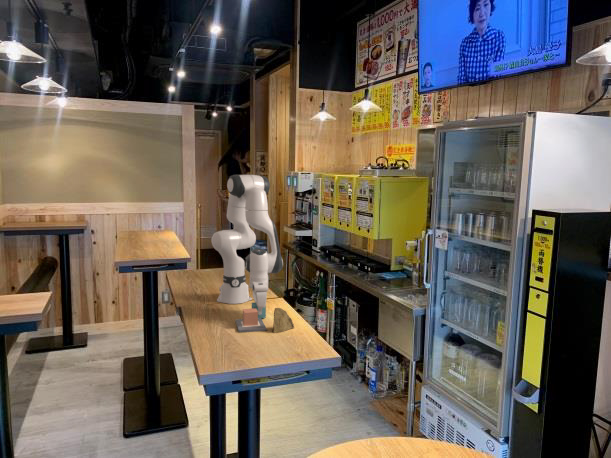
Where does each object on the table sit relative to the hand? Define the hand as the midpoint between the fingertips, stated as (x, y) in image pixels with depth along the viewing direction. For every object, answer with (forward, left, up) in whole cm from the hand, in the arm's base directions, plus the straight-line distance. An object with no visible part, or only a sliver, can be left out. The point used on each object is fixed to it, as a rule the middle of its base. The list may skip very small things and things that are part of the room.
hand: (258, 311), depth 220 cm
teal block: (0, 0, -2) cm, 2 cm away
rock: (+21, +8, -3) cm, 22 cm away
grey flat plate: (+12, -5, -3) cm, 14 cm away
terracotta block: (+12, -6, -2) cm, 13 cm away
